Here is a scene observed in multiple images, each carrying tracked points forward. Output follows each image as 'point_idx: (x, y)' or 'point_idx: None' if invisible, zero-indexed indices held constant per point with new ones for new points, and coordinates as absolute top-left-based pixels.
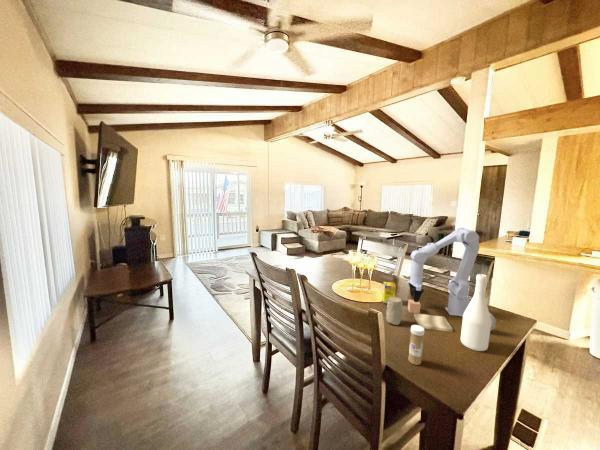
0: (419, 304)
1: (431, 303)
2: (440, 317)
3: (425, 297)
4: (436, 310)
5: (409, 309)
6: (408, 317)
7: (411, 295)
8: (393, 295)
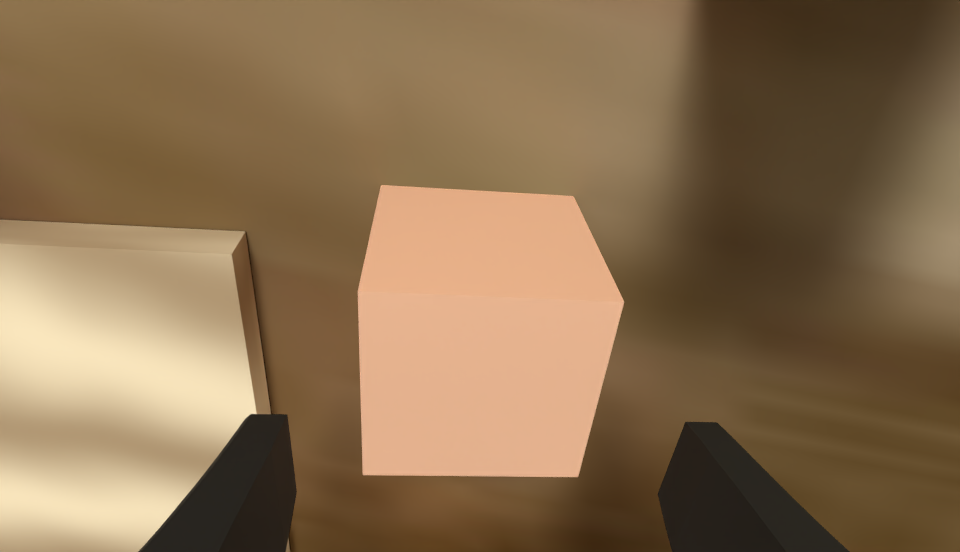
0: (363, 453)
1: None
2: None
3: (935, 510)
4: (526, 534)
5: (395, 206)
6: (106, 105)
7: (685, 437)
8: None
